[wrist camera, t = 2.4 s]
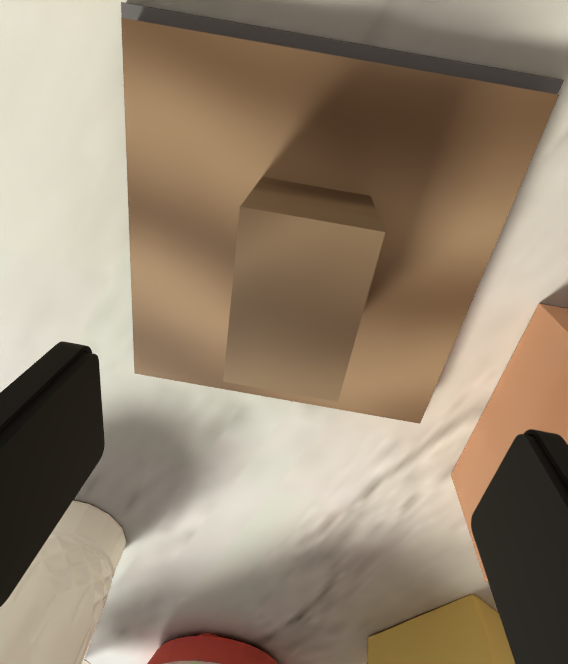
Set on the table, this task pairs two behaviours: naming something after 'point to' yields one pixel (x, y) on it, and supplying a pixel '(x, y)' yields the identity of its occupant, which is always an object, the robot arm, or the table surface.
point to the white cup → (62, 590)
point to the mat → (341, 48)
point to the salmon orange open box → (518, 406)
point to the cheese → (445, 637)
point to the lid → (310, 215)
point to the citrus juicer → (209, 651)
